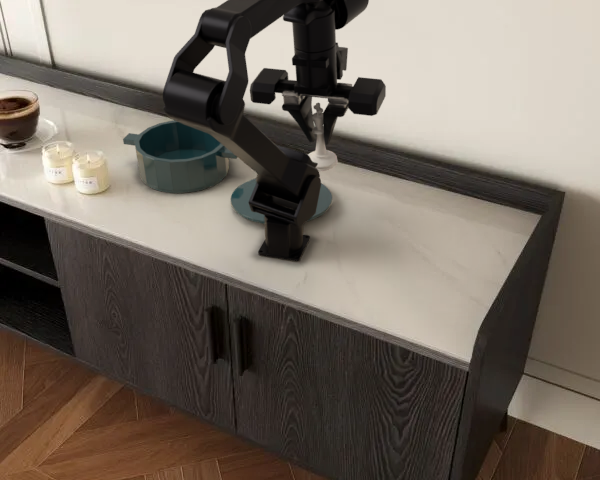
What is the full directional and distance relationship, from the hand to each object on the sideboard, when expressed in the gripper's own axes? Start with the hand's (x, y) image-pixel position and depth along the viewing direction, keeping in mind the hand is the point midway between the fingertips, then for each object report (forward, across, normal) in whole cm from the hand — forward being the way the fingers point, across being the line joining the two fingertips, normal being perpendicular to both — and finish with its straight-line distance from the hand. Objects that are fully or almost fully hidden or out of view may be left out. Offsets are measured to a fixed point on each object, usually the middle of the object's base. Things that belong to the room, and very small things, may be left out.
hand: (320, 142), depth 114 cm
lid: (+12, +7, 0) cm, 14 cm away
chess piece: (+4, 0, 0) cm, 4 cm away
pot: (+13, +28, -6) cm, 31 cm away
